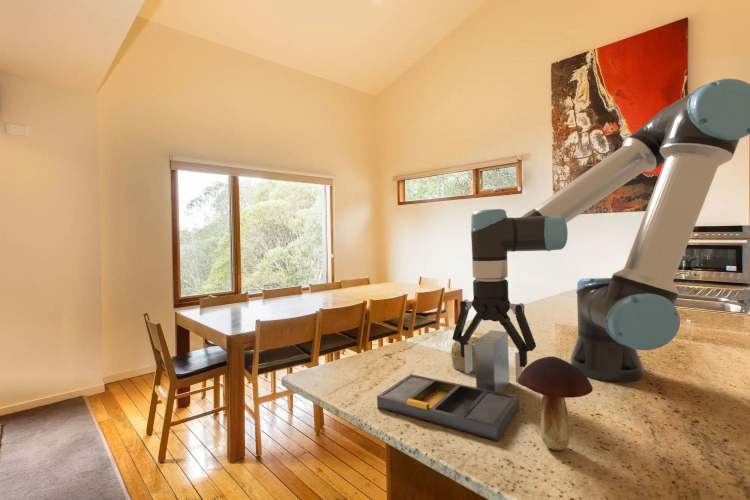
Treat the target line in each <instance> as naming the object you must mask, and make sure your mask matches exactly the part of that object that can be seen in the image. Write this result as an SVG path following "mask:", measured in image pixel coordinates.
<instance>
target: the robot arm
mask: <svg viewBox="0 0 750 500" xmlns="http://www.w3.org/2000/svg"><path fill="white" fill-rule="evenodd" d="M748 135H749V136H750V83H749V82H746V81H744V80H742V79H737V78H722V79H717V80H715V81H712V82H710V83H707V84H703V85H702V86H699V87H697V88H696V89H695V90H693V91H692V92H691V93H689V94H687V95H685V96H683V97H681V98H680V99H678V100H676V101H675V102H673V103H671V104H669V105H667V106H666V107H664V108H662V109H661V110H660V111H659V112H658V113H657V114H655V115H654V116H652V117H651V118H650V119H649V120H648V121H647V122H646V123H645V124H643V125H642V126H641V127H640V128H639V129H637V130H636V131H635V132H634V133H632V134H631V135H629V136H627V138H625V139H624V140H623V141H622V145H621V147H619V148H618V149H617V150H616V151H614V152H612V153H611V154H610V155H607V156H606V157H605V158H604V159H602V160H600V161H599V162H598V163H596V164H595V165H594V166H592V167H591V168H589V169H588V170H587V171H585V172H583V173H581V175H579V176H578V177H576V178H575V179H574V180H572V181H571V182H570V183H568V184H566V185H565V186H564V187H562V188H561V189H559V190H558V191H556V192H555V193H554V194H552V195H550V196H549V197H548V198H546V199H545V200H543V201H542V202H541V203H540V204H538V205H537V206H535V207H534V208H532V209H531V210H530V211H528V212H527V213H525V214H524V215H522V216H521V217H508V215H507V211H506V210H505V209H503V208H497V209H496V208H495V209H494V208H491V209H479V210H475V211H474V212H472V214H471V220H470V221H471V223H470V224H471V225H470V227H471V229H470V236H471V238H470V239H471V258H472V260H471V261H472V262H471V263H472V278H474V279H473V281H472V292H473V299H472V300H468V299H463V300H461V301H460V302H459V307H460V308H459V309H460V312H459V315H458V317H457V321H456V324H455V328H454V331H453V334H452V337H451V338H452V340H453V341H454V342H455V341H458V342H459V343H460V344H461V356H462V357H464V358H465V372H464V373H465V374H470V373H472V372H471V371H472V370H473V368H472V343H470V342H468V341H469V339H470V337H473V334H474V332H475V331H476V330H477V328H478V327H479V325H480V323H481V322H482V321H486V322H487V321H492V322H499V324H500V325H501V326H503V328H504V330H505V332H507V333H508V337H509V338H510V340H511V341H512V343H513V344H514V346H515V347H516V349H517V350H516V351H515V352H514V357H515V358H514V359H515V360H514V361H515V362H514V363H515V383H518V378H519V376H520V375H521V373H522V371H523V370H524V369H523V368H526V367H527V366H528V365H527V364H528V352H533V351H534V350H535V348H536V347H537V345H536V344H537V343H536V341H535V338H534V337H533V333H532V331H531V328H530V325H529V323H528V320H527V317H526V315H525V305H524V303H522V302H520V303H511V301H510V299H509V281H508V280H507V279H506V278H508V276H509V273H508V272H509V271H508V267H509V265H508V252H513V253H514V252H544V251H547V252H551V251H560V250H563V249H564V248H565V247H566V245H567V243H568V242H567V241H568V234H569V233H568V231H569V230H568V224H567V223H569V222H570V221H572V220H573V219H575V218H577V217H578V216H579V215H581V214H583V212H585V211H587V210H588V209H590V208H591V207H592V206H594V205H596V204H597V203H598V202H600V201H601V200H603V199H604V198H606V197H607V196H609V195H610V194H612V193H613V192H615V191H616V190H618V189H620V188H621V187H623V186H624V185H625V184H627V183H628V182H630V181H631V180H633V179H634V178H636V177H638V176H639V175H641V174H642V173H643V172H647V173H648V172H649V173H650V172H652V171H654V170H656V169H658V167H660V166H662V167H661V169H660V171H659V172H660V173H659V175H658V177H657V180H656V183H655V185H654V188H653V189H652V190H653V191H652V193H651V196H650V199H649V201H648V205H647V207H646V209H645V212H644V215H643V217H642V219H641V223H640V225H639V228H638V230H637V232H636V233H637V234H636V236H635V238H634V242H633V244H632V246H631V248H630V249H631V250H630V252H629V255H628V257H627V260H626V263H625V265H624V267H623V268H622V269H620V270H618V271H616V272H613V274H612V275H611V277H598V278H594V277H593V278H592V277H589V278H580V279H579V280H578V281H577V282H576V283H577V286H576V291H575V293H576V297H577V298H576V302H577V305H576V306H577V339H576V342H575V345H574V348H573V351H572V353H571V356H570V364H572V365H574V366H575V367H577V368H578V369H579V370H581V371H582V372H583V373H584V374H585V375H586V377H587V378H591V379H592V378H593V379H597V380H600V381H606V382H607V381H608V382H623V383H624V382H633V381H638V380H640V379H642V378H643V376H644V367H643V363H642V360H641V358H640V356H639V353H638V351H651V350H656V349H659V348H662V347H664V346H666V345H668V344H669V343H670V342H672V340H673V339H674V338H675V337H676V336H677V334H678V332H679V330H680V327H681V316H680V313H678V308H677V307H676V306H675V304H676V301H677V300H678V296H679V294H680V292H679V290H678V288H677V286H675V284H674V280H675V277H676V275H677V273H678V269H679V267H680V266H681V262H682V260H683V257H684V254H685V251H686V249H687V246H688V244H689V242H690V239H691V237H692V234H693V232H694V229H695V226H696V224H697V222H698V219H699V216H700V214H701V212H702V208H703V206H704V203H705V201H706V198H707V195H708V193H709V191H710V188H711V185H712V183H713V181H714V178H715V176H716V172H717V170H718V168H719V167H720V166H722V165H724V164H726V163H728V162H730V161H731V160H732V159H733V157H734V154H735V152H736V151H737V147H738V144H739V142H740V139H743V138H745V137H748ZM472 308H473V309H474V311H475V312H476V314H475V315H474V317H472V321H471V322H470V324H469V325H468V326H467V328H466V329H465V326H466V322H467V318H468V317H469V316H468V315H469V311H470V310H471V309H472ZM510 310H511V311H512V313H513V315H515V318H516V321H517V324H518V327H519V330H520V333H521V335H522V336H521V335H520V333H519V332H518V330H517V328H516V327H515V325H514V323H513V322H512V321H511V318H510V316H509V314H508V312H509V311H510ZM464 329H465V332H464V333H463V331H464ZM522 337H523V338H522ZM518 384H519V383H518Z"/></svg>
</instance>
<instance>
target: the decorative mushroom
mask: <svg viewBox="0 0 750 500" xmlns="http://www.w3.org/2000/svg"><path fill="white" fill-rule="evenodd" d="M518 385H520V386H522V387H525V388H527V389H529V390H530V391H532V392H535V393H537V394H539V395H540V394H541V395H542V401H541V407H540V436H541V440H542V443H543V444H544V445H545V446H546V447H547V448H549V449H550V450H553V451H562V450H565V449H566V448H567V447H568V446H569V442H570V422H569V416H568V414H569V412H568V409H567V405H566V404H567V403H566V399H567V398H571V399H572V398H573V399H574V398H580V397H584V396H587V395H589V394H591V393H592V392H593V389H594V388H593V385H592V384H591V382H590V380H589V377H588V376H586V375H585V374H584V373H583V372H582V371H581V370H579V369H578V368H577V367H575V366H574V365H572V364H571V362H569V361H567V360H564V359H562V358H559V357H555V356H544V357H541V358H538V359H536V360H534V361H533V362H531V363H530V364H528V365H526V366H525V367H524V369H523V371H522V373H521V375H520V376H519V378H518ZM565 398H566V399H565Z"/></svg>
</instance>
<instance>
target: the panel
mask: <svg viewBox="0 0 750 500" xmlns="http://www.w3.org/2000/svg"><path fill="white" fill-rule="evenodd" d="M478 338H479V339H478V340H476V341H475V360H476V372H475V378H476V379H475V384H476V385H475V388H480V389H485V390H490V391H495V392H500V393H503V391H504V389H505V388H507V386H508V385H509V383H510V364H509V363H510V362H509V359H510V357H509V355H510V354H509V335H508V333H507V332H506V331H502V330H501V331H500V330H494V329H491V330H489V331H488V332H486V333H484V335H481V336H480V337H478Z"/></svg>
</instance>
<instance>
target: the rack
mask: <svg viewBox="0 0 750 500" xmlns="http://www.w3.org/2000/svg"><path fill="white" fill-rule="evenodd" d="M376 403H377V406H376V407H377V409H379V410H383V411H387V412H390V413H393V414H398V415H401V416H404V417H408V418H412V419H415V420H418V421H422V422H425V423H428V424H429V423H430V424H433V425H436V426H439V427H443V428H447V429H450V430H454V431H458V432H461V433H463V434H464V433H465V434H468V435H471V436H475V437H478V438H483V439H485V440H489V441H493V442H495V443H498V442H499V440H500V439H501V437H502V435H503V434H504V433H505V431H506V430H507V428H508V427H509V425H510V424H511V422H512V421H513V419H514V418H515V416H516V414H517V413H518V411H519V410H520V396H517V395H514V394H507V393H504V392H501V393H500V392H495V391H490V390H485V389H480V388H476V386H475V387H474V386H471V385H466V384H462V383H461V384H460V383H457V382H456V383H455V382H450V381H446V380H442V379H441V380H440V379H435V378H431V377H427V376H422V375H417V374H412V373H411V374H409V375H407V376H406V377H404V378H402V379H401V380H399V381H398V382H396V383H395V384H393V385H392V386H391V387H389V388H387V389H386V390H384V391H383V392H381V393H379V394H378V395H377V396H376Z"/></svg>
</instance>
